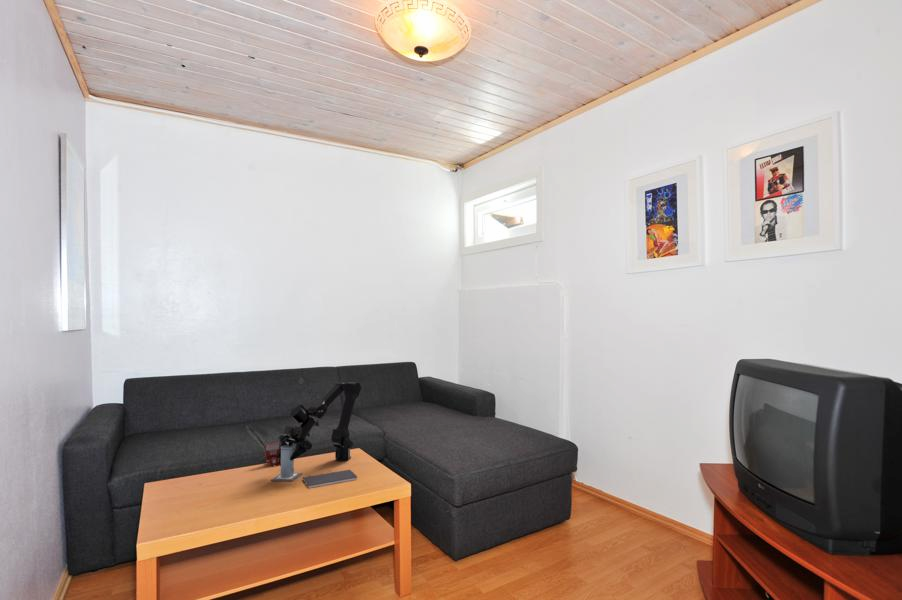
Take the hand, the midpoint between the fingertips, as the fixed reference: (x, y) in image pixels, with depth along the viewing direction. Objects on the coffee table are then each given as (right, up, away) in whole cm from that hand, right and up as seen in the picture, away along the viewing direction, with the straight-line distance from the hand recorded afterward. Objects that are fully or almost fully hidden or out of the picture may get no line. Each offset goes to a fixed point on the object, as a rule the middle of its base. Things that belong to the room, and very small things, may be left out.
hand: (284, 458), depth 208 cm
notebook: (+22, -9, -3) cm, 24 cm away
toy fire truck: (-12, -11, +23) cm, 28 cm away
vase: (+1, -8, +1) cm, 8 cm away
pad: (+1, -9, +1) cm, 9 cm away
